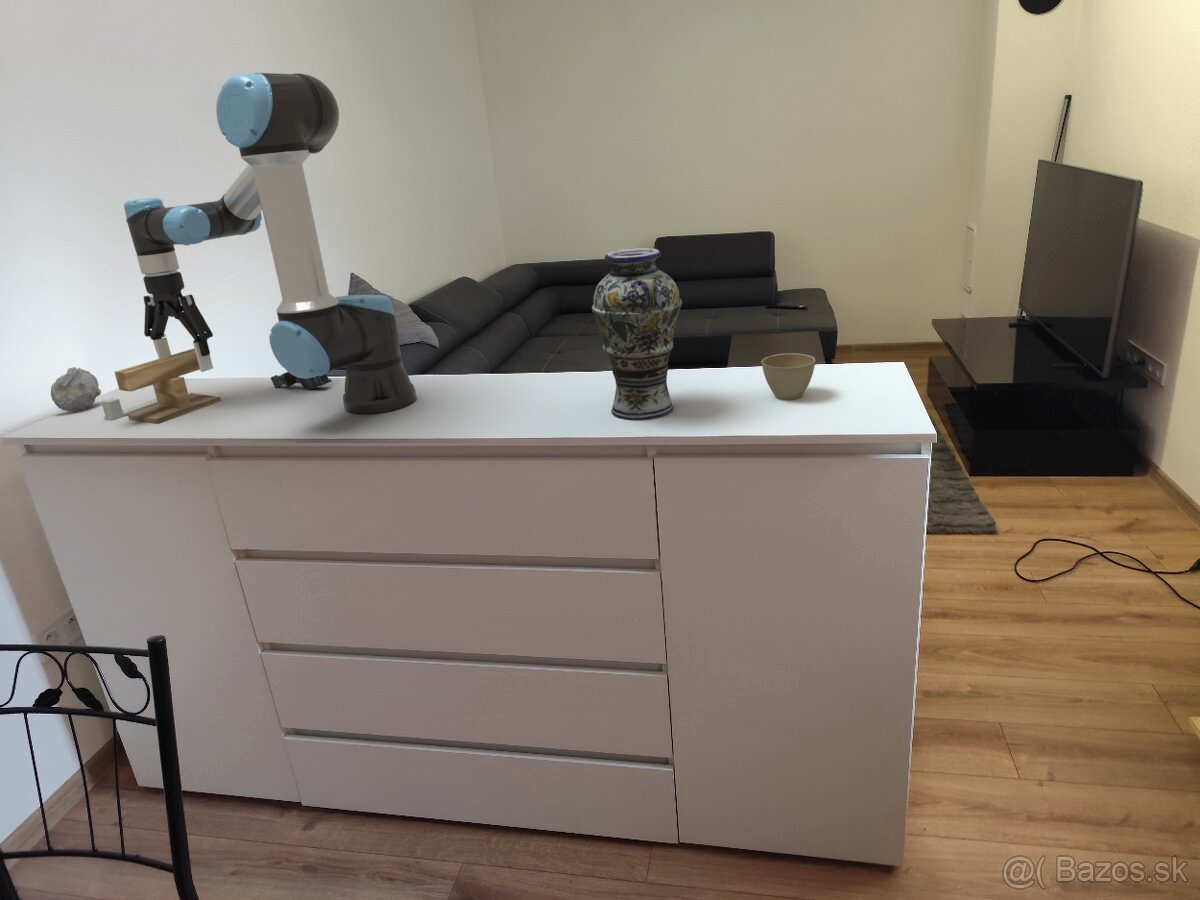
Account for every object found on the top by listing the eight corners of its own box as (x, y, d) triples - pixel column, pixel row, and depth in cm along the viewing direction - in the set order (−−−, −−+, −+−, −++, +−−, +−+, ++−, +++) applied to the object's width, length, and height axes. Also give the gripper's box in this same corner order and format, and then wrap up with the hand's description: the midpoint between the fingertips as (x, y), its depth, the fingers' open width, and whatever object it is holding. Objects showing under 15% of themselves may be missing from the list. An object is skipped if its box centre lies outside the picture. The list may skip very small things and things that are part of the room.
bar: (211, 365, 194) (207, 348, 193) (131, 391, 178) (125, 373, 177) (200, 364, 196) (196, 347, 195) (119, 390, 180) (114, 371, 179)
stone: (86, 402, 202) (73, 361, 198) (110, 402, 201) (98, 361, 197) (55, 415, 193) (41, 373, 190) (81, 415, 192) (67, 372, 188)
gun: (256, 328, 199) (302, 311, 192) (285, 395, 203) (332, 381, 197) (247, 330, 197) (294, 314, 190) (278, 398, 201) (324, 384, 194)
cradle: (187, 394, 202) (183, 378, 200) (112, 420, 186) (107, 402, 185) (180, 393, 203) (176, 377, 202) (104, 419, 188) (99, 401, 186)
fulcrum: (221, 400, 194) (213, 369, 191) (158, 423, 181) (148, 389, 179) (192, 397, 199) (184, 366, 196) (129, 419, 186) (119, 386, 183)
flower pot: (769, 386, 172) (769, 352, 169) (820, 389, 167) (820, 354, 165) (755, 402, 163) (755, 366, 161) (808, 405, 159) (808, 368, 156)
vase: (661, 390, 175) (653, 241, 164) (702, 413, 160) (696, 250, 149) (586, 406, 169) (573, 252, 159) (621, 430, 154) (609, 263, 144)
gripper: (214, 269, 181) (238, 366, 188) (141, 270, 192) (166, 361, 200) (183, 276, 175) (209, 376, 182) (110, 276, 186) (137, 370, 194)
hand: (187, 368), depth 191 cm, fingers open, 13 cm apart
